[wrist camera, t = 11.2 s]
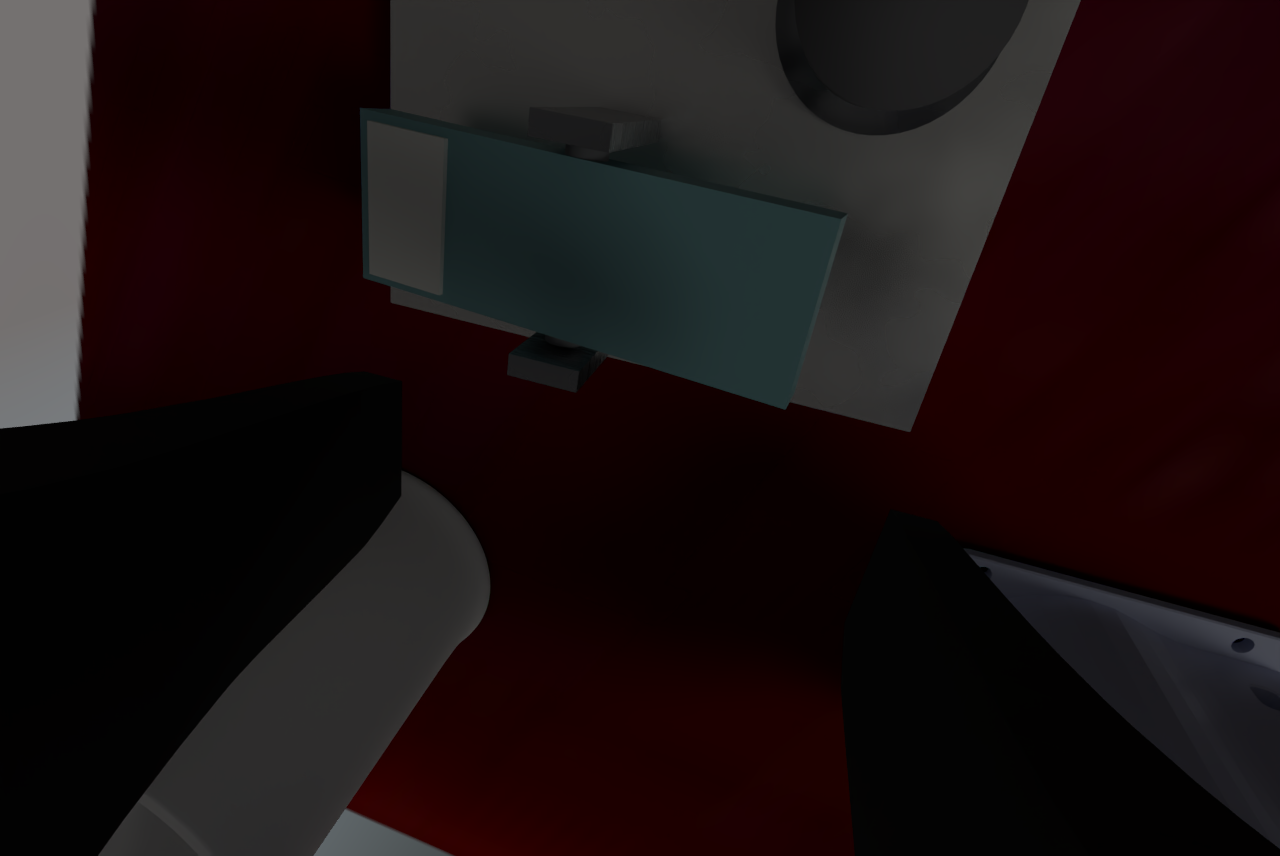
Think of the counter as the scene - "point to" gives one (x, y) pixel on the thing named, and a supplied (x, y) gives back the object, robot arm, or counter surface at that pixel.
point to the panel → (749, 155)
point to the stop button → (903, 46)
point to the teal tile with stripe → (597, 251)
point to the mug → (320, 696)
